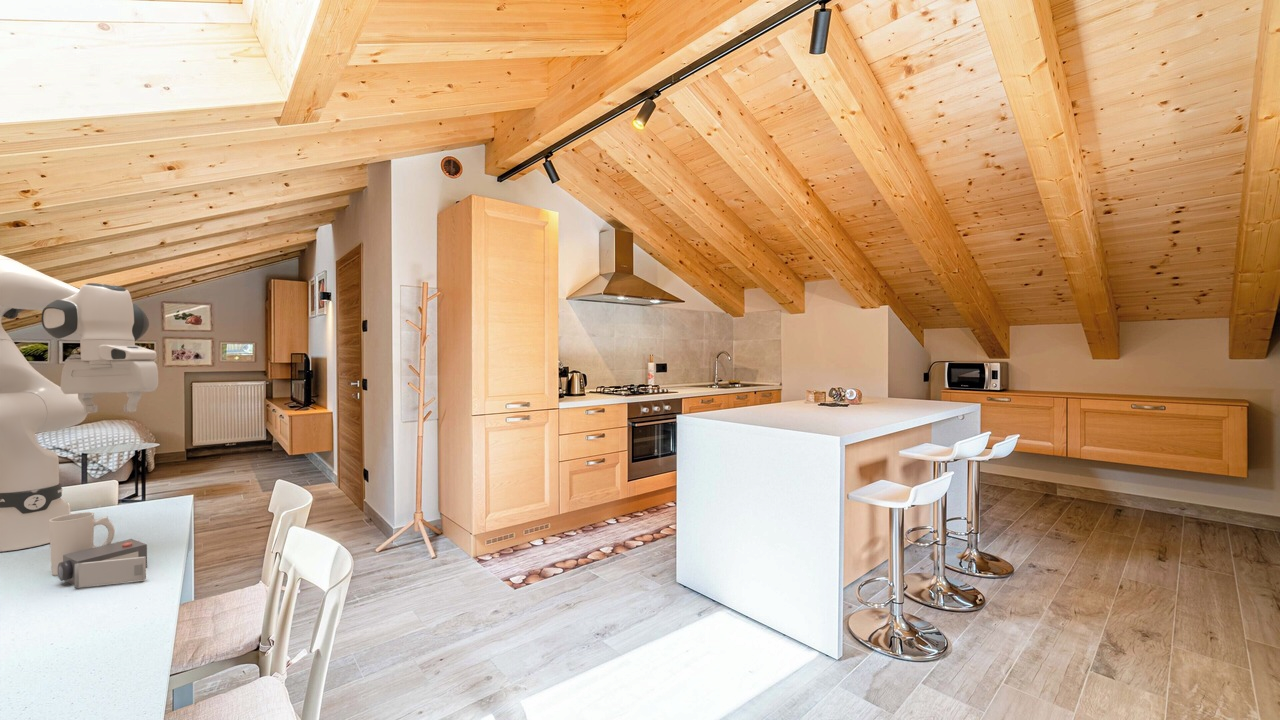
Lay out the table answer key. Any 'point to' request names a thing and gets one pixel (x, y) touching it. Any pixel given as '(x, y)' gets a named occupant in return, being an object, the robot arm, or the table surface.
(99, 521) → the mug
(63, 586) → the table surface
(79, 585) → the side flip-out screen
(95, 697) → the table surface
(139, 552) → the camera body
